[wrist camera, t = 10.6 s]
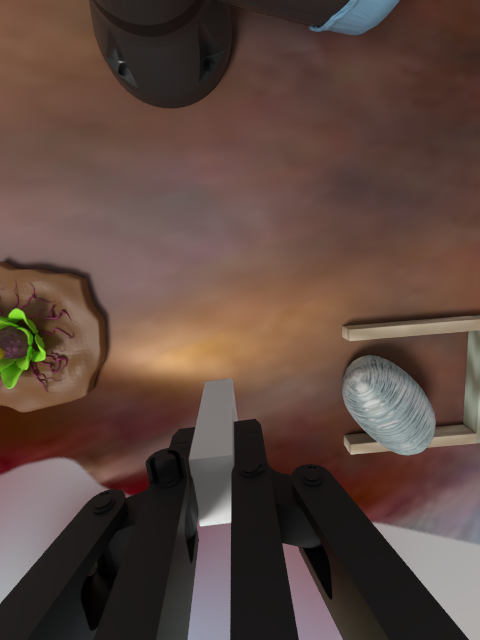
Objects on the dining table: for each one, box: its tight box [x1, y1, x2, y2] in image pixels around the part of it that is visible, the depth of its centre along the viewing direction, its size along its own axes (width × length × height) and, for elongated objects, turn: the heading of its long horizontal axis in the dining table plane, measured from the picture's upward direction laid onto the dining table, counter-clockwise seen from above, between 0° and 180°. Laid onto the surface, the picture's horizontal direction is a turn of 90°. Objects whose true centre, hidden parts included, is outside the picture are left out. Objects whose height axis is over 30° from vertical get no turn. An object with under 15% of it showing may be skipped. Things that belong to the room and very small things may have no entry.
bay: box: [342, 315, 480, 454], centre depth 42 cm, size 18×20×2 cm
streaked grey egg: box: [342, 355, 436, 455], centre depth 39 cm, size 14×10×10 cm
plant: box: [0, 262, 107, 412], centre depth 35 cm, size 20×20×11 cm
